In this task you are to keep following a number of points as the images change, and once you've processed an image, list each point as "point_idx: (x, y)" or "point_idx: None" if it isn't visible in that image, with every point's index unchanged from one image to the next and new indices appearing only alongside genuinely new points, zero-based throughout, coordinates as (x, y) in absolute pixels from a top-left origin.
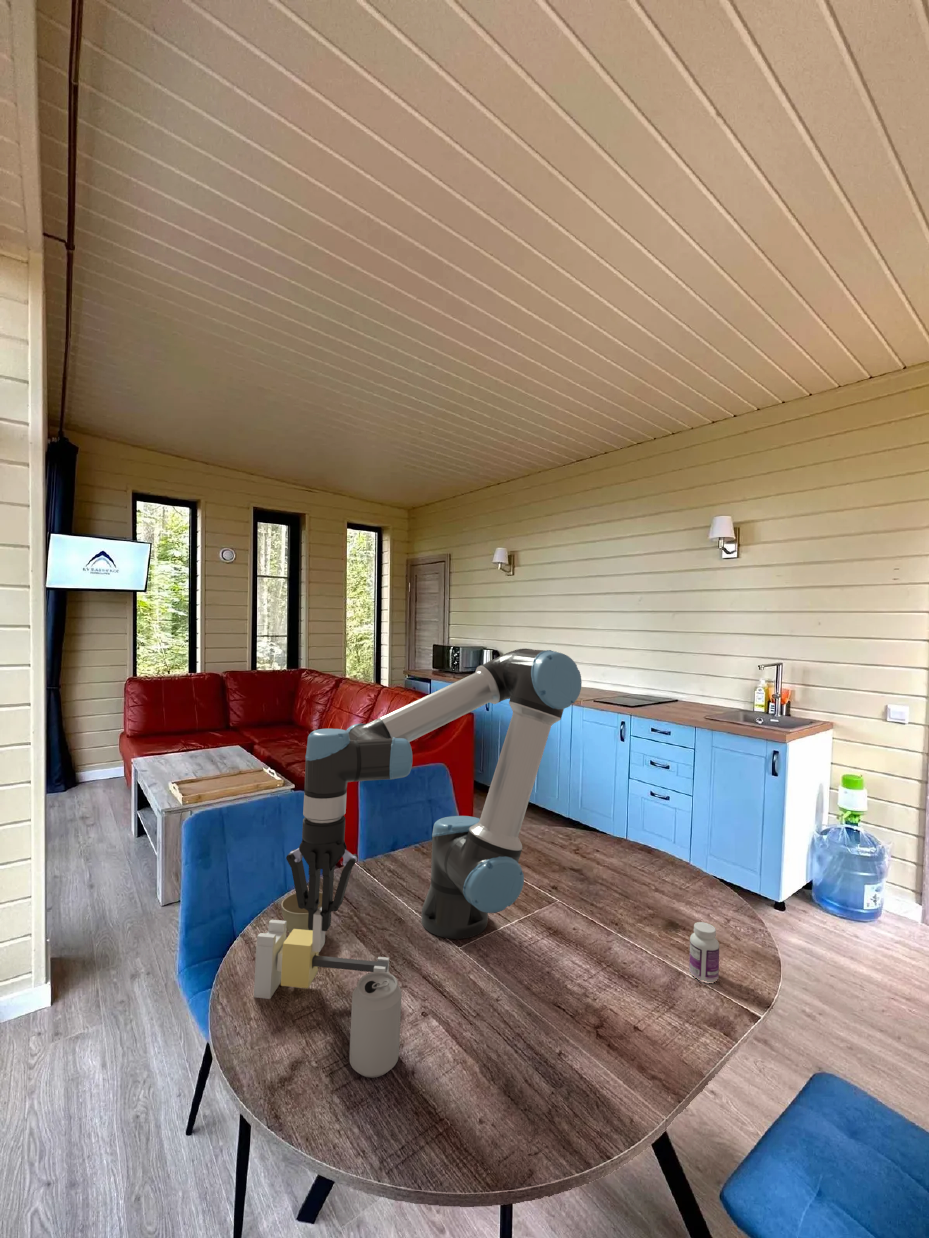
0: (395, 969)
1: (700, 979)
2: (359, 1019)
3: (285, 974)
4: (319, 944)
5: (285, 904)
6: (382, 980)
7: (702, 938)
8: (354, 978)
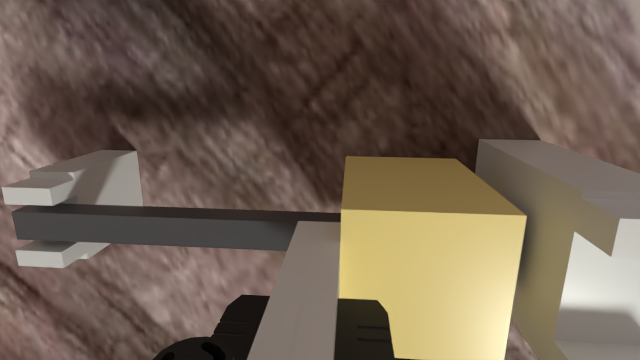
0: (126, 317)
1: None
2: None
3: (449, 168)
4: (295, 237)
5: None
6: None
7: None
8: (233, 266)
